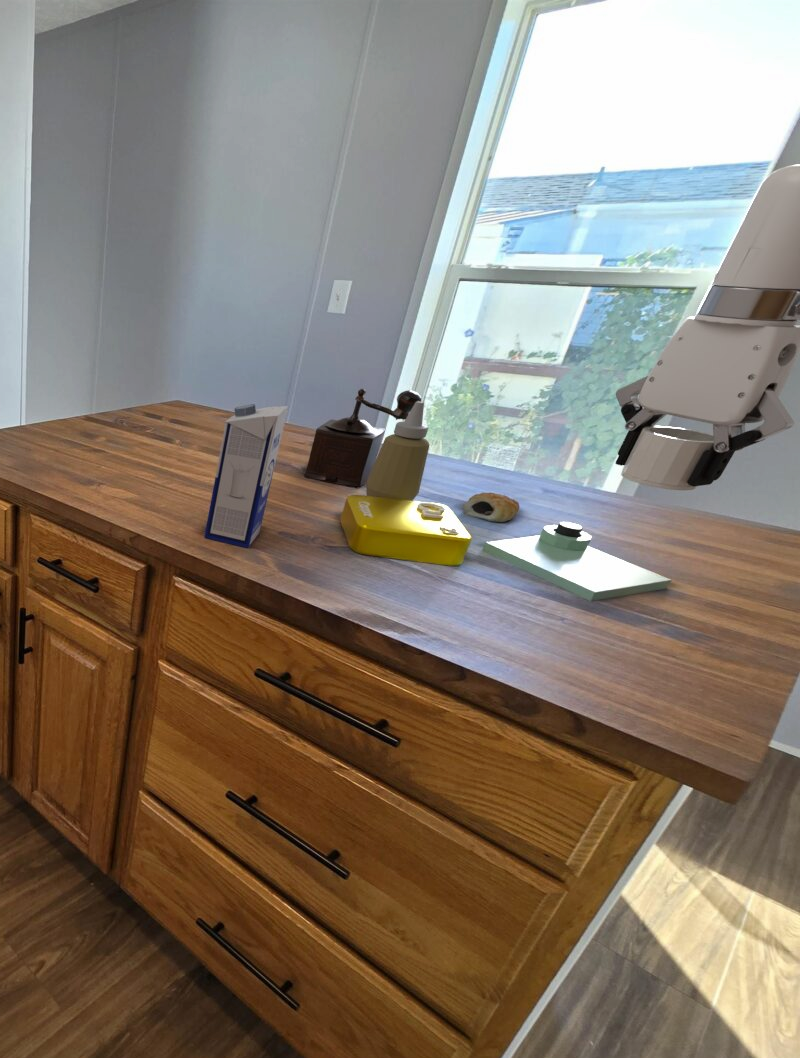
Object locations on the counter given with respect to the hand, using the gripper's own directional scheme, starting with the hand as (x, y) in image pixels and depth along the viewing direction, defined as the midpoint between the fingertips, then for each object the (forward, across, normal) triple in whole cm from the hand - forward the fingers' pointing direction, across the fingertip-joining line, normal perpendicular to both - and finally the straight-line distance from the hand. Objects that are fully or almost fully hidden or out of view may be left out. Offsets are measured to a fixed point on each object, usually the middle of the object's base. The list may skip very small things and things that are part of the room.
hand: (661, 472), depth 76 cm
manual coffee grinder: (+18, +48, -5) cm, 52 cm away
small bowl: (+1, 0, 0) cm, 1 cm away
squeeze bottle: (+18, +34, 0) cm, 39 cm away
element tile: (+18, +23, +9) cm, 30 cm away
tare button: (+15, +13, -12) cm, 23 cm away
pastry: (+18, +27, -15) cm, 36 cm away
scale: (+18, +8, -8) cm, 21 cm away
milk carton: (+18, +31, +33) cm, 49 cm away
